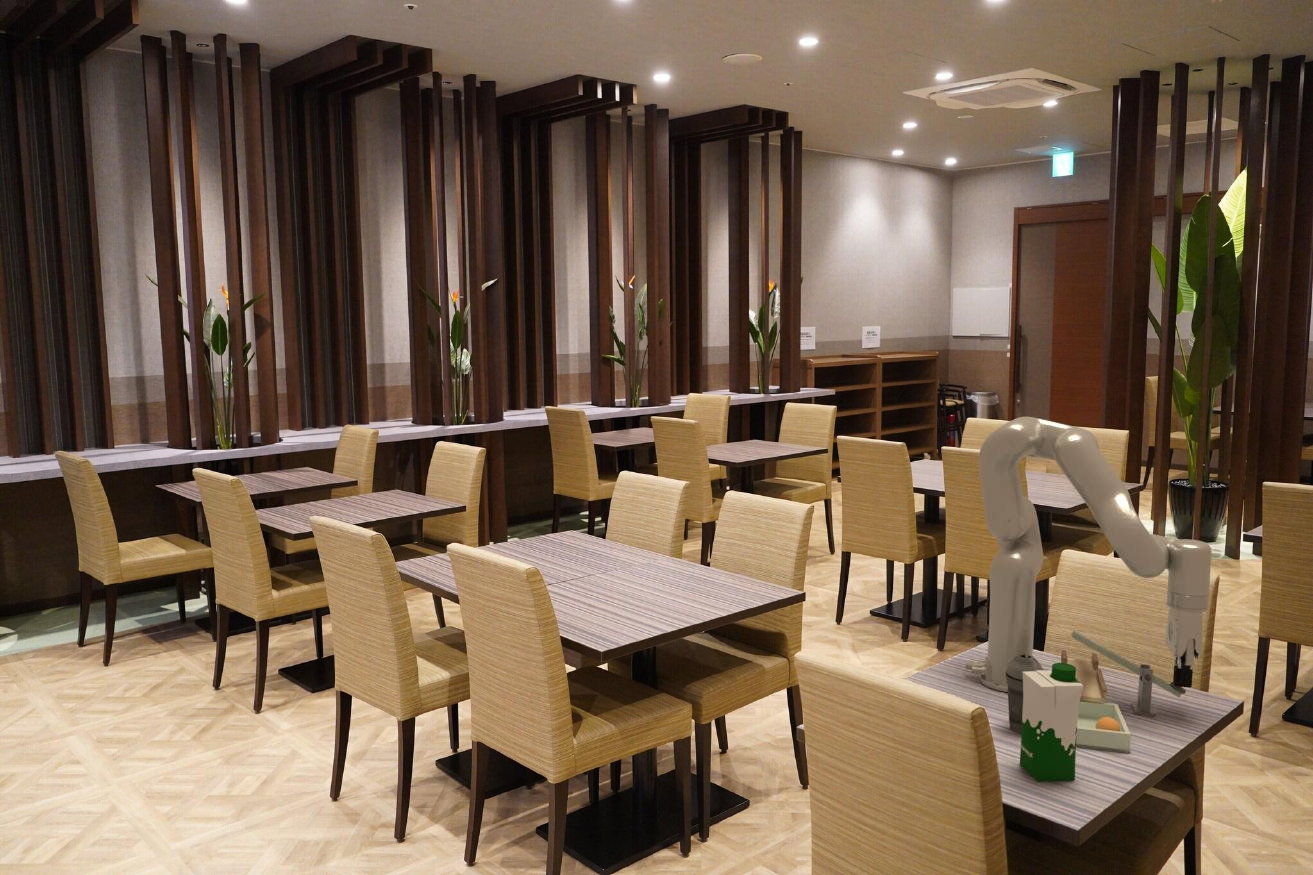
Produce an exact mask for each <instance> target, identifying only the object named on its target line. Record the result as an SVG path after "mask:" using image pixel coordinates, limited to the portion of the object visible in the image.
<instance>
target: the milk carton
mask: <svg viewBox="0 0 1313 875" xmlns="http://www.w3.org/2000/svg"><path fill="white" fill-rule="evenodd" d="M1042 670H1043V669H1042ZM1042 670H1036V671H1028V672H1023V713H1022V732H1021V735H1020V752H1019V753H1020V757H1019V765H1020V766H1021V767H1022V768H1023V769H1024V770H1025V771H1026V772H1027V773H1028V775H1030V776H1031V777H1032V778H1033V779H1034V780H1035V781H1036V782H1039V783H1040V782H1058V781H1059V782H1062V781H1063V782H1064V781H1065V782H1066V781H1075V780H1076V760H1077V759H1076V756H1077V755H1076V754H1077V751H1076V750H1077V747H1076V738H1077V723H1078V708H1079V701H1080V698H1081V694H1082V690H1083V685H1082V684H1081V683H1080V682H1079V681H1077V679H1076V678H1075V677H1076V668H1075V667H1074V666H1073V665H1070V664H1066V663H1061V662H1056V663H1053V664H1052V666H1051V670H1047V669H1046V670H1043V671H1042Z"/></svg>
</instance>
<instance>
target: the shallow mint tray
mask: <svg viewBox="0 0 1313 875" xmlns="http://www.w3.org/2000/svg"><path fill="white" fill-rule="evenodd" d="M1104 717H1110V718H1112V719H1114V720H1116V721H1117V723H1118V724H1119V726H1120V732H1119V731H1111V730H1102V729H1096V723H1097V721H1098V720H1099V719H1101V718H1104ZM1131 735H1132V734H1131V732H1130V729H1129V728H1128V725H1127V723H1126V720H1125V718H1124V716H1123V714H1122V712H1121V709H1120V707H1119V705H1118V703H1111V702H1106V703H1100V702H1091V701H1082V700H1080V701H1079V708H1078V723H1077V738H1076V748H1081V749H1090V750H1098V751H1106V752H1116V753H1122V754H1124V753H1125V754H1130V752H1131V748H1130V747H1131V737H1132V736H1131Z"/></svg>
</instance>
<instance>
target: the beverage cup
mask: <svg viewBox="0 0 1313 875" xmlns="http://www.w3.org/2000/svg"><path fill="white" fill-rule="evenodd" d="M1029 641H1030V636H1027V644H1026V655H1018V656H1016V657H1014V658H1013V659H1012V660H1011V661H1010V662H1009V664H1008V666H1007V670H1006V679H1007V684H1008V692H1007V701H1008V721H1009V722H1008V723H1009V730H1010V731H1011V732H1012V733H1014V734H1016V735H1020V736H1021V732H1022V713H1023V672H1028V671H1036V670H1042V671H1044V670H1043V667H1042V665H1041V663H1040V661H1039V660H1037V659H1036V658H1035V657H1033V655H1032V656H1029V655H1028V652H1029Z"/></svg>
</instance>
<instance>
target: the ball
mask: <svg viewBox="0 0 1313 875" xmlns="http://www.w3.org/2000/svg"><path fill="white" fill-rule="evenodd" d="M1096 729H1102V730H1111V731H1119V732H1120V726H1119V724H1118V723H1117V721H1116V720H1114V719H1112V718H1110V717H1104V718H1101V719H1099V720H1098V721H1097V723H1096Z"/></svg>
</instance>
